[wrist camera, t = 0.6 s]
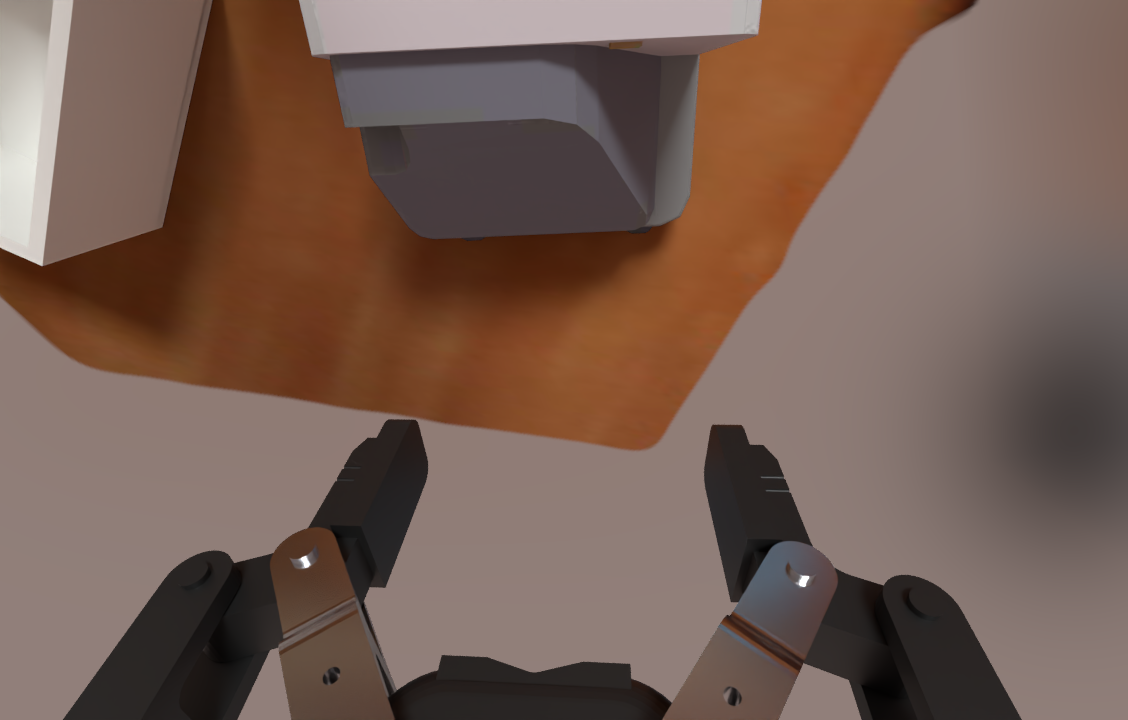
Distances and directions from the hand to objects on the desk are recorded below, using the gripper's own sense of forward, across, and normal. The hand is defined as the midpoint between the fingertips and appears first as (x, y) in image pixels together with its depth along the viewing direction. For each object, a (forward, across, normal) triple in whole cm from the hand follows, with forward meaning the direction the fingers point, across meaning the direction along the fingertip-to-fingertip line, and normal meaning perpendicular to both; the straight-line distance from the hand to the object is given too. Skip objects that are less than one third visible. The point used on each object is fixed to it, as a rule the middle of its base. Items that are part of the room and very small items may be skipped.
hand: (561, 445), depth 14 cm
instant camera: (+29, +3, -6) cm, 29 cm away
